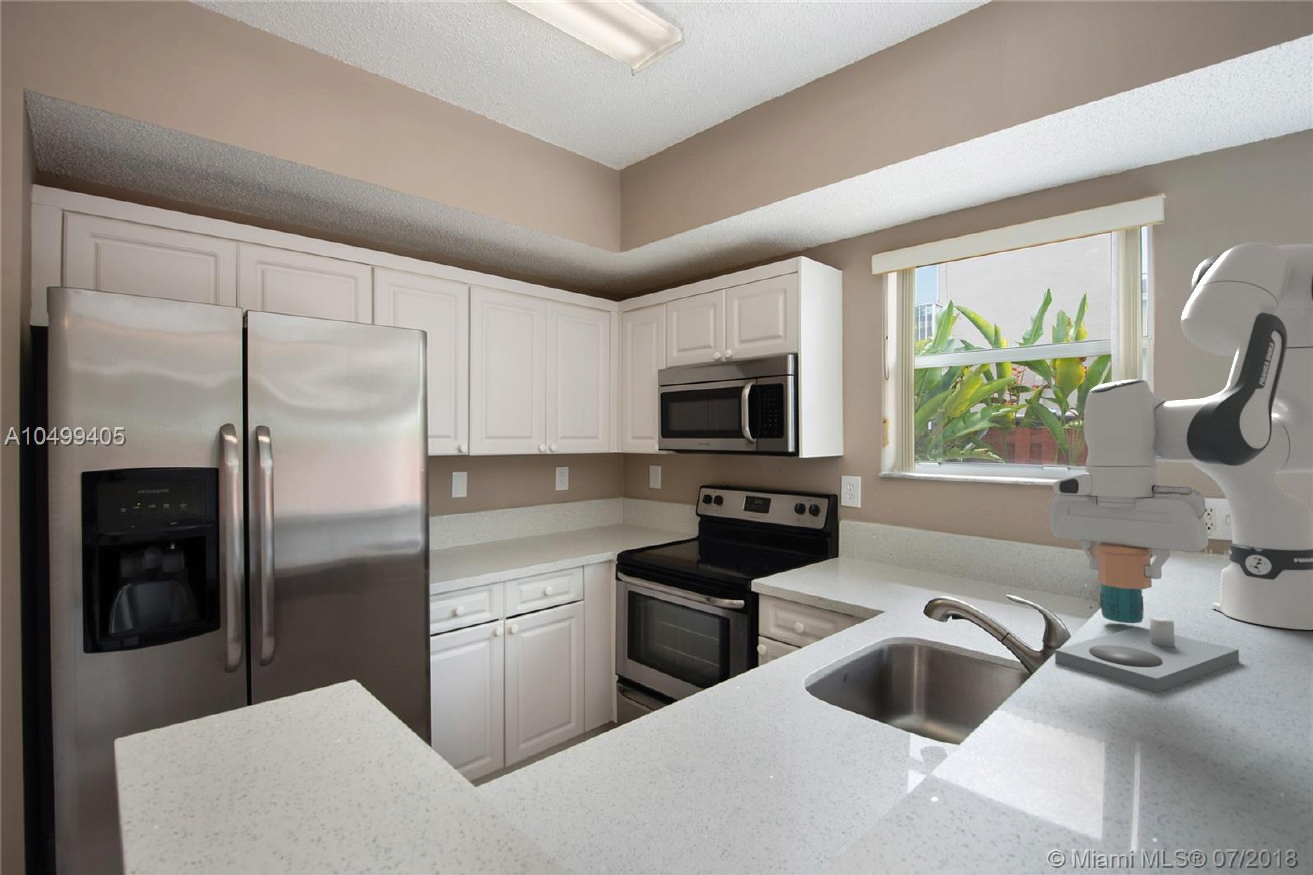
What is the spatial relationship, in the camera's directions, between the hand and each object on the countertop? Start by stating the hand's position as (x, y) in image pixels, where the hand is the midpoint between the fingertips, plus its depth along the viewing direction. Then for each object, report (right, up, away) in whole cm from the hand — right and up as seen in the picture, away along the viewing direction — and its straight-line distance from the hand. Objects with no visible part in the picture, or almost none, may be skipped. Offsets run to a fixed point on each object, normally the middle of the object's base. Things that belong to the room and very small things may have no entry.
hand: (1124, 573), depth 95 cm
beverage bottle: (+16, -15, +21) cm, 30 cm away
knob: (0, -2, 0) cm, 2 cm away
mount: (+6, -15, +3) cm, 16 cm away
